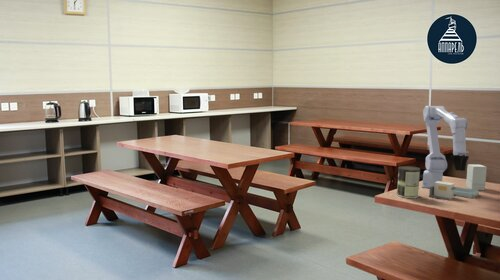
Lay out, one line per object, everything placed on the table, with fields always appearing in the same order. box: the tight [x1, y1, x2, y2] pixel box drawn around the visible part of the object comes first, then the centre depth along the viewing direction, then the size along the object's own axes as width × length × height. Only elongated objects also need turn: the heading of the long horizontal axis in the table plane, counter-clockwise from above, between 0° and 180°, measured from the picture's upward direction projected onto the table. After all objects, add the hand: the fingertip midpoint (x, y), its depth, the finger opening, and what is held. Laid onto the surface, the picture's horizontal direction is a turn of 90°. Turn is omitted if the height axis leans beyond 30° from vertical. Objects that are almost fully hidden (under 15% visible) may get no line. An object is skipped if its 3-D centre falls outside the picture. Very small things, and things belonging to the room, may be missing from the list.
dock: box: [428, 185, 457, 201], centre depth 244 cm, size 10×11×5 cm
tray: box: [454, 186, 480, 199], centre depth 250 cm, size 13×10×2 cm
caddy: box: [434, 181, 457, 200], centre depth 244 cm, size 9×5×7 cm, turn 51°
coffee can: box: [396, 165, 421, 199], centre depth 244 cm, size 10×10×14 cm
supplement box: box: [465, 163, 488, 191], centre depth 263 cm, size 7×7×13 cm
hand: (460, 170), depth 239 cm, fingers open, 7 cm apart
